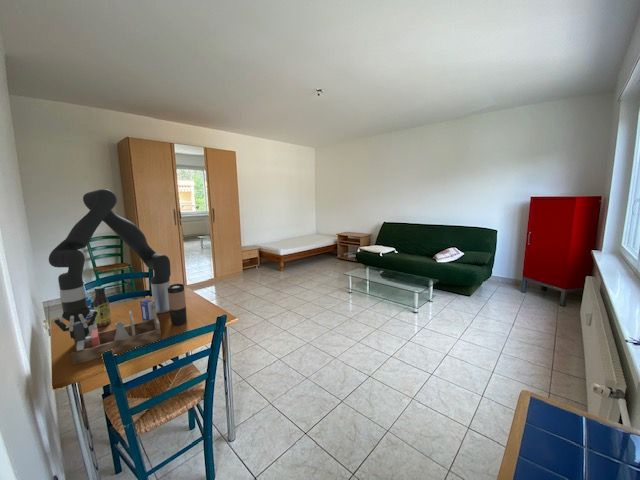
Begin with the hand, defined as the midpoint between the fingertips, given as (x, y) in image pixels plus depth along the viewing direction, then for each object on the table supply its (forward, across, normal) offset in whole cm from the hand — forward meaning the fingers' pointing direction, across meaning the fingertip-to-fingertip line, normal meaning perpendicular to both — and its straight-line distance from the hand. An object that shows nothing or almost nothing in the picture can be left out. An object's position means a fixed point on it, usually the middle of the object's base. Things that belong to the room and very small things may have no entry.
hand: (80, 336), depth 111 cm
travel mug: (+8, -38, -6) cm, 39 cm away
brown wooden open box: (+8, -13, 0) cm, 15 cm away
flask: (+8, -13, 0) cm, 16 cm away
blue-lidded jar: (+8, -1, -13) cm, 15 cm away
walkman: (+8, -26, -16) cm, 31 cm away
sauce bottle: (+8, -7, -28) cm, 30 cm away
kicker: (+8, -2, 0) cm, 8 cm away
